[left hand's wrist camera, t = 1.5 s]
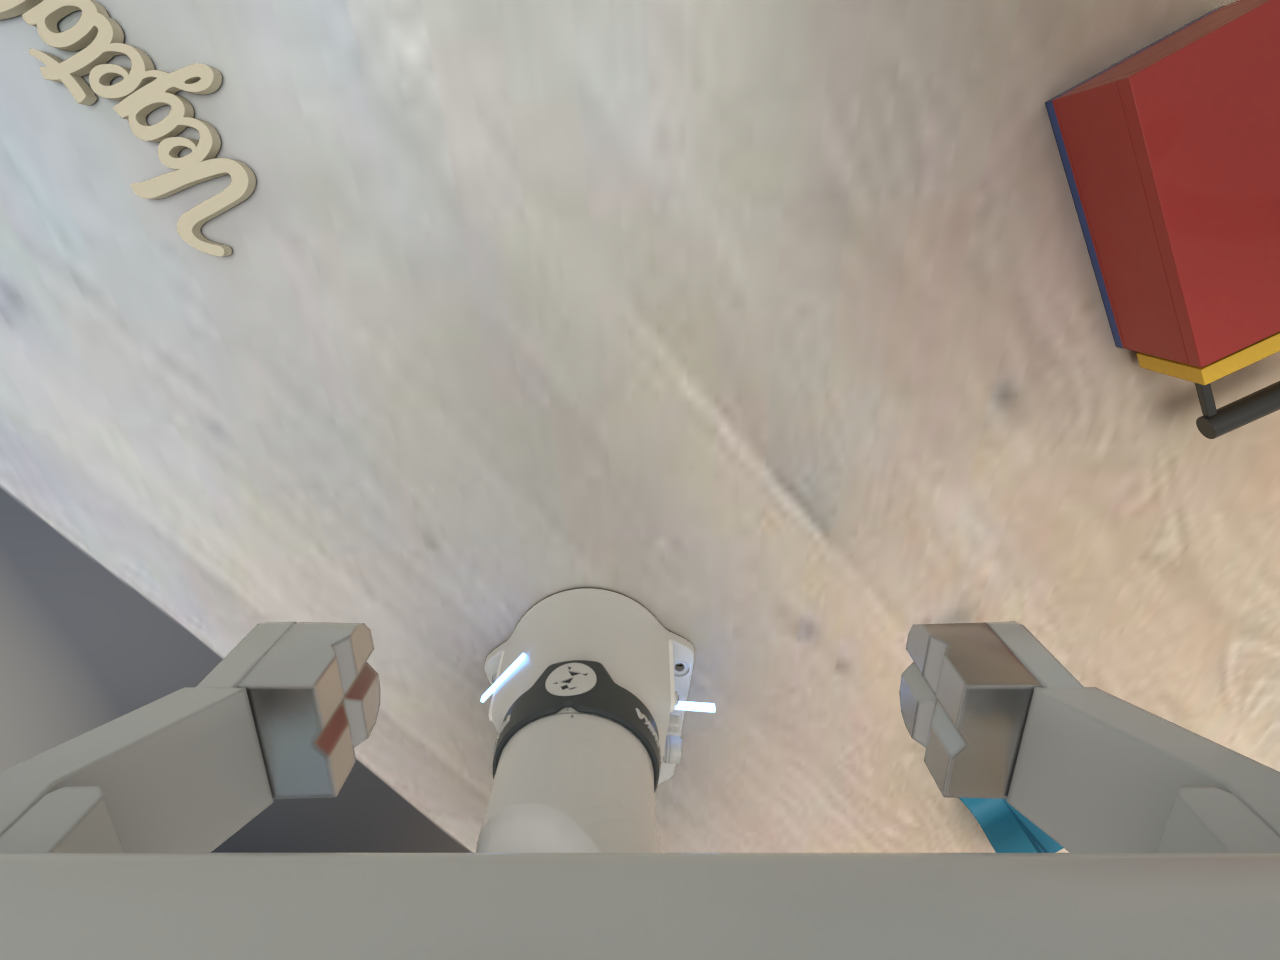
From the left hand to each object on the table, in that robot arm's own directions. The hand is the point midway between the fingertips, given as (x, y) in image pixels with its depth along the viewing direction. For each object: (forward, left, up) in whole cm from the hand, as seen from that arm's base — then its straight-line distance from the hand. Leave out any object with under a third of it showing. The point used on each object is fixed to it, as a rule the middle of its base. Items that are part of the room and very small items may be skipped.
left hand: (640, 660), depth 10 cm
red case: (+6, -37, -43) cm, 57 cm away
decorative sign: (+19, +34, -43) cm, 58 cm away
